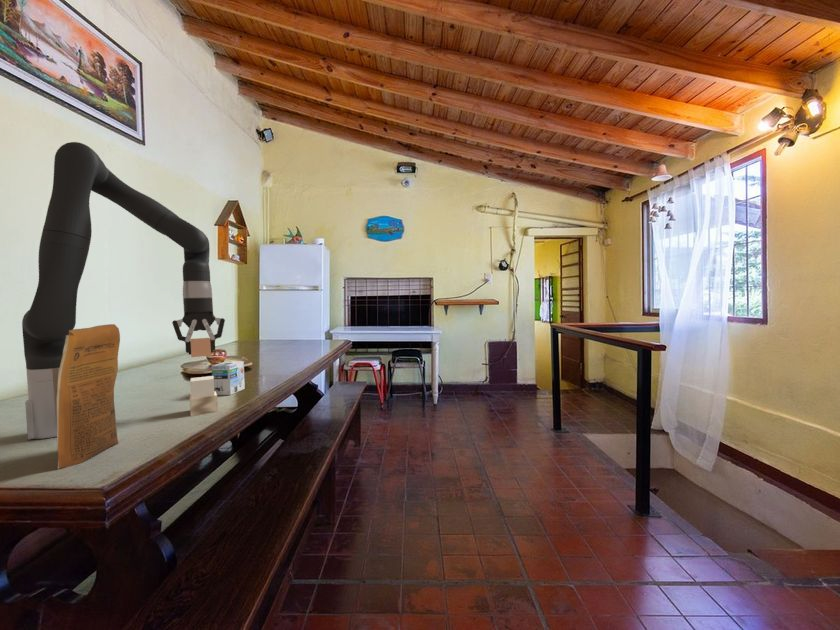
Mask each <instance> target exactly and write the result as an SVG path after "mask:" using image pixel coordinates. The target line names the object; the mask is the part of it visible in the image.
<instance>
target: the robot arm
mask: <svg viewBox="0 0 840 630" xmlns="http://www.w3.org/2000/svg"><path fill="white" fill-rule="evenodd" d="M91 193H94V194H95V193H96V194H97V195H100V196H102V197H104V198H105V199H108V200H109V201H111V202H113V203H114V204H116V205H117V206H119V207H121V208H122V209H124V210H125V211H126V212H128V213H129V214H130V215H132V216H134V217H135V218H136V219H138V220H139V221H141V222H143V224H146V225H147V226H149V227H150V228H152V229H153V230H155V231H156V232H158V233H160V234H161V235H164V236H166V237H167V238H169V239H170V240H171V241H173V242H174V243H175V244H178V245H179V246H180V247H181V248H183V257H184V258H183V259H184V262H183V264H182V283H183V284H182V301H183V302H182V303H183V317H182V318H180V319H175V320H173V321H172V323H171V324H172V326H173V329H174V331H175V335H176V337H177V340H178V341H181V342H184V343H185V352H186V354H187V353H188V356H189V355H190V356H191V342H190V339H192V336H193V334H194V332H198V331H205V332H206V333H207V335H208V338H210V345H211V354H212V353H214V352H215V350H216V340H218V339H220V338H222V335H223V331H224V326H225V321H226V320H225V318H223V317H222V318H220V317H216V316H215V315H214V305H213V289H212V284H211V269H210V252H211V251H210V249H211V248H210V241H209V238H208V237H207V234H205V233H204V231H202V230H201V229H199V228H198V227H196V226H195V225H193V224H192V223H190V222H188V221H187V220H185V219H183V218H181V217H180V216H179V215H177V214H176V213H175V212H174V211H172V210H171V209H169V208H168V207H166V206H164V205H163V204H162V203H161V202H158V201H157V200H156V199H153V198H152V197H150V196H149V195H146V194H144V193H142V192H140V191H138V190H136V189H134V188H133V187H131V186H130V185H128V184H127V183H125V182H124V181H122V180H121V179H120V178H119V177H118V176H116V175H115V174H114V172H112V171H111V170H110V169H109V168H108V167H107V165H105V163H104V162H103V160H102V159H101V157H100V156H99V155H98V153H97V152H96V151H95V150H94V149H92V148H91V147H90V146H88V145H87V144H85V143H82V142H79V141H71V142H67V143H64V144H63V145H61V146H59V148H58V149H57V150H56V152H55V155H54V163H53V180H52V189H51V195H50V199H49V203H48V206H47V211H46V214H45V215H46V216H45V219H44V220H45V221H44V224H43V227H42V232H41V237H40V241H39V248H38V283H37V287H36V291H35V295H34V298H33V300H32V303H31V306H30V308H29V310H27V311H26V313H24V315H23V317H22V322H21V327H22V340H23V352H24V353H23V354H24V359H25V369H26V370H25V371H26V382H27V383H26V384H27V396H28V398H27V399H26V401H25V414H26V415H25V417H26V432H27V440H34V439H35V440H36V439H38V440H39V439H50V438H55V437H56V438H57V385H58V376H59V370H60V364H61V360H62V356H63V349H64V345H65V340H66V335H69V330H73V329H75V327H76V323H77V322H76V320H77V303H78V302H77V300H78V289H79V285H80V282H81V279H82V276H83V273H84V271H85V267H86V263H87V259H88V255H89V251H90V247H91V246H90V245H91V241H92V240H91V239H92V220H91V219H92V217H91V210H90V209H91V208H90V199H91V198H90V197H91ZM214 322H216V325H218V326H217V327H218V328H217V331H216V334H214V333H213V331H212V329H211V326H212V325H213V323H214ZM182 323H184V324H185V325H186V327H188V330H187V333H186V336H183V334H182V331H181V327H182Z"/></svg>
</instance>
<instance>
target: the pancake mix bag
mask: <svg viewBox="0 0 840 630" xmlns="http://www.w3.org/2000/svg"><path fill="white" fill-rule="evenodd" d="M119 329H120V328H119V327H118V326H117V325H116V324H115V323H113V324H112V323H111V324H102V325H94V326H91V327H84V328H83V327H82V328H74V329H73V330H69V335H66V340H65V345H64V349H63V356H62V360H61V364H60V370H59V376H58V385H57V436H56V439H57V440H56V441H57V443H56V446H57V448H56V449H57V453H58V454H57V470H58V469H62V468H64V469H65V468H68V467H72V466H75V465H76V466H77V465H79V464H81V463H84V461H85V462H87V461H88V459H89V460H90V459H92V458H94V457H95V455H96V456H97V455H99V454H101V453H103V452H105V451H106V450H108V449H110V448H111V446H112V447H114V446H115V445H117V444H119V439H118V431H117V418H116V409H115V386H116V380H117V376H118V368H119V367H118V366H119V360H118V359H119V357H118V356H119V349H120V344H121V343H120V341H121V335H120V334H121V332H120V330H119ZM109 447H110V448H109ZM102 451H103V452H102ZM100 452H101V453H100ZM98 453H99V454H98ZM93 456H94V457H93ZM91 457H92V458H91ZM86 460H87V461H86Z"/></svg>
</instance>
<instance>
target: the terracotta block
mask: <svg viewBox="0 0 840 630" xmlns="http://www.w3.org/2000/svg"><path fill="white" fill-rule="evenodd" d="M190 342H191V355H190V356H191V358H197V357H198V358H199V357H208V356H209V357H210V356H212V353H211V345H210V337H203V338H202V337H200V338H191V339H190Z"/></svg>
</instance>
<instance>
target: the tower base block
mask: <svg viewBox="0 0 840 630" xmlns="http://www.w3.org/2000/svg"><path fill="white" fill-rule="evenodd" d="M214 395H215V396H207V397H200V398H192V399H191V393H190V394H189V408H190V409H189V410H190V417H192V416H200V415H206V414H213V413H218V412H219V405H218V404H219V403H218V395H217V394H216V391H214Z"/></svg>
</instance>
